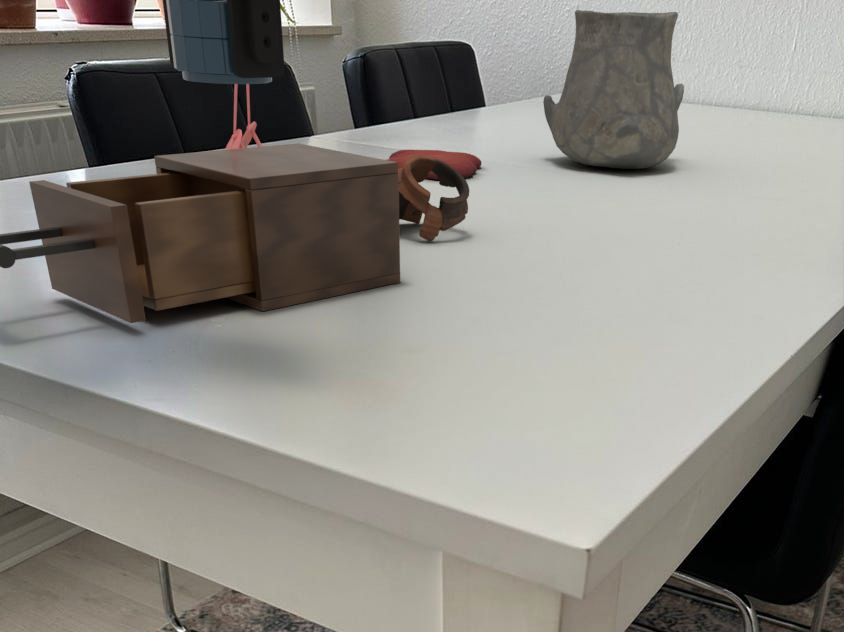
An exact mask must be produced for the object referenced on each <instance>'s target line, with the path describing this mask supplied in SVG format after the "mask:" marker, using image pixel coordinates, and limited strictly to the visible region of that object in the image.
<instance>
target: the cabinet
mask: <svg viewBox="0 0 844 632" xmlns="http://www.w3.org/2000/svg"><path fill="white" fill-rule="evenodd" d="M153 158H154V165H155V173H156V174H159V173H169V172H180V173H184V174H188V175H192V176H196V177H200V178H204V179H208V180H213V181H217V182H221V183H225V184H229V185H233V186H237V187H241V188H245V189H246V200H247V210H248V220H249V230H250V241H251V251H252V261H253V271H254V281H255V291H256V292H251V293H245V294H240V295H235V296H230V297H225V298H224V299H228V300H231V301H234V302H236V303H238V304H242V305H244V306H247V307H250V308H253V309H256V310H259V311H261V312H267V311H272V310H276V309H280V308H285V307H286V308H287V307H290V306H295V305H298V304H304V303H309V302H313V301H318V300H319V301H320V300H323V299H328V298H332V297H337V296H342V295H347V294H351V293H357V292H361V291H366V290H370V289H375V288H380V287H386V286H389V285H395V284H399V283H401V249H400V248H401V247H400V245H401V243H400V239H401V238H400V220H399V175H398V162H393V161H388V160H387V159H383V158H377V157H372V156H367V155H362V154H357V153H356V154H355V153H350V152H345V151H340V150H336V149H329V148H324V147H319V146H315V145H309V144H304V143H287V144H278V145H267V146H263V147H258V146H254V147H247V148H241V149H229V150H225V149H220V150H209V151H207V150H206V151H197V152H194V151H193V152H185V153H184V152H183V153H173V154H161V155H154V156H153Z"/></svg>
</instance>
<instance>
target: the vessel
mask: <svg viewBox="0 0 844 632" xmlns="http://www.w3.org/2000/svg"><path fill="white" fill-rule="evenodd" d="M678 16H679V13H678V12H677V11H669V12H668V11H667V12H635V11H627V12H626V11H622V12H621V11H620V12H601V11H594V10H581V9H576V10H575V11H574V19H575V38H574V45H573V48H572V54H571V59H570V62H569V65H568V69H567V72H566V76H565V81H564V85H563V89H562V92H561V95H560V97H559V101H558V102H555V101H554V100H553V97H552V96H551V95H549V94H546V95H544V97H543V101H542V102H543V103H542V104H543V111H544V116H545V119H546V122H547V125H548V127H549V130H550V132H551V136H552V138H553V141H554V143H555V146H556V147H557V148H558V150H560V152H561V153H562V154H563V155H565V156H566V157H567V158H569V159H571V160H572V161H574V162H577V163H580V164H582V165H587V166H589V167H591V166H592V167H600V168H601V167H602V168H611V169H621V170H641V169H646V168H647V169H648V168H651V167H654V166H658V165H660V164H661V163H663V162H664V161H666V160H667V159H668V158H669V157H670V156H671V155H672V154H673V152H674V150H675V149H676V147H677V143H678V140H679V134H680V133H679V132H680V127H679V126H680V125H679V115H678V111H679V110H680V106H681V104H682V102H683V98H684V93H685V85H684V84H683V83H676V84H674V76H673V69H672V68H673V67H672V50H673V49H672V48H673V47H672V46H673V45H672V44H673V38H674V31H675V27H676V24H677V20H678Z"/></svg>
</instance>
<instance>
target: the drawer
mask: <svg viewBox="0 0 844 632" xmlns="http://www.w3.org/2000/svg"><path fill="white" fill-rule="evenodd" d="M28 183H29V187H30V188H29V189H30V192H31V193H30V194H31V197H32V202H33V206H34V210H35V216H36V219H37V225H38V229H29V230H21V231H14V232H7V233H5V232H4V233H0V268H2V269H10V268H12V267H13V266H14V265H15V263H16V261H18V260H25V259H31V258H38V257H39V258H40V257H45V262H46V266H47V271H48V276H49V281H50V286H51V289H52V290H54V291H56V292H58V293H61V294H63V295H66V296H67V297H70V298H72V299H74V300H76V301H79V302H81V303H84V304H86V305H89V306H91V307H93V308H95V309H96V310H97V309H98V310H99V311H102V312H104V313H106V314H109V315H111V316H113V317H116V318H118V319H121V320H123V321H124V322H127V323H129V324H136V323H140V322H145V321H147V319H146V312H145V307H147V308H149V309H152V310H154V311H157V312H159V311H163V310H168V309H173V308H178V307H179V308H180V307H184V306H189V305H192V304H199V303H205V302H209V301H214V300H219V299H226V298H225V297H230V296H235V295H240V294H245V293H251V292H256V291H255V281H254V271H253V261H252V251H251V241H250V230H249V220H248V210H247V200H246V189H245V188H241V187H237V186H233V185H229V184H225V183H221V182H217V181H213V180H208V179H204V178H200V177H196V176H192V175H188V174H184V173H180V172H169V173H159V174H157V173H149V174H141V175H140V174H138V175H131V176H130V175H129V176H120V177H109V178H100V179H99V178H98V179H90V180H88V179H87V180H79V181H69V182H66V183H65V184H66V186H65V185H62V184H58V183H54V182H51V181H48V180H45V179H41V180H32V181H28ZM38 240H41V244H40V245H32V246H26V247H25V246H24V247H18V248H10V247H8V246H6V245H9V244H16V243H17V244H18V243H23V242H25V243H26V242H32V241H38Z"/></svg>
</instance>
